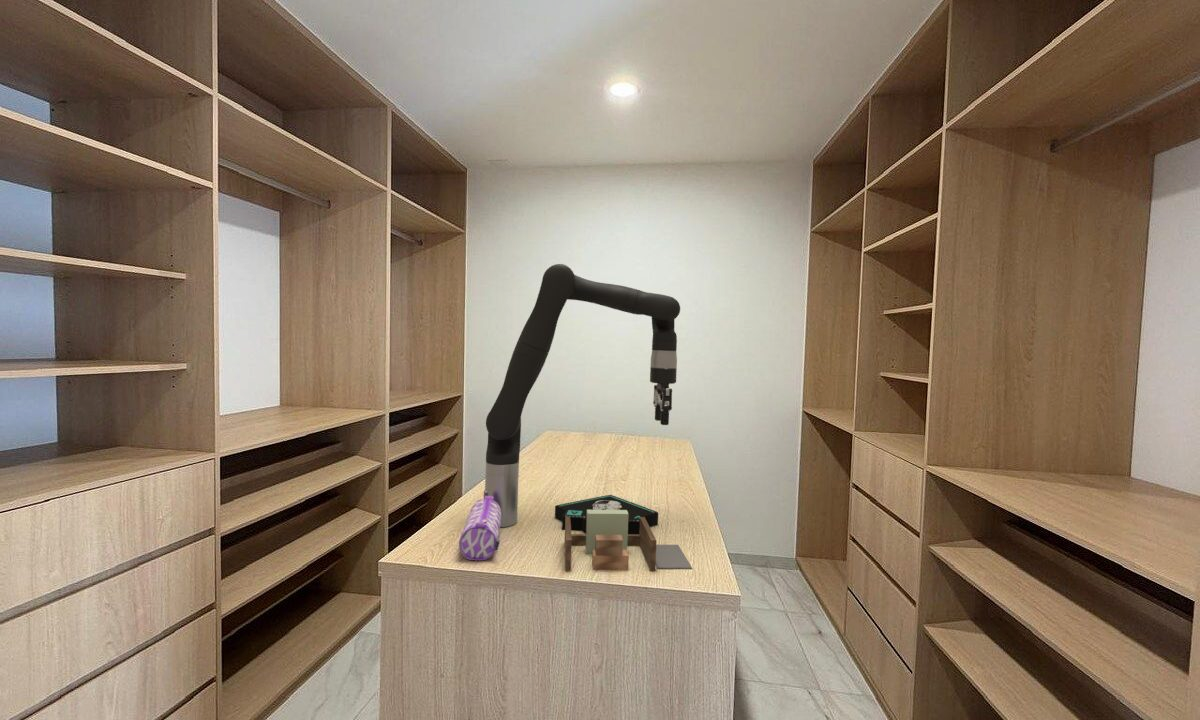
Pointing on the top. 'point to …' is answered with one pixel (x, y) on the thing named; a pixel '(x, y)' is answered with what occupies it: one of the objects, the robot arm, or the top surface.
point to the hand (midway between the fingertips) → (661, 422)
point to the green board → (606, 526)
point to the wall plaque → (608, 502)
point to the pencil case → (481, 530)
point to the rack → (642, 539)
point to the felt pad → (671, 557)
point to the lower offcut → (610, 561)
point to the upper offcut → (608, 545)
